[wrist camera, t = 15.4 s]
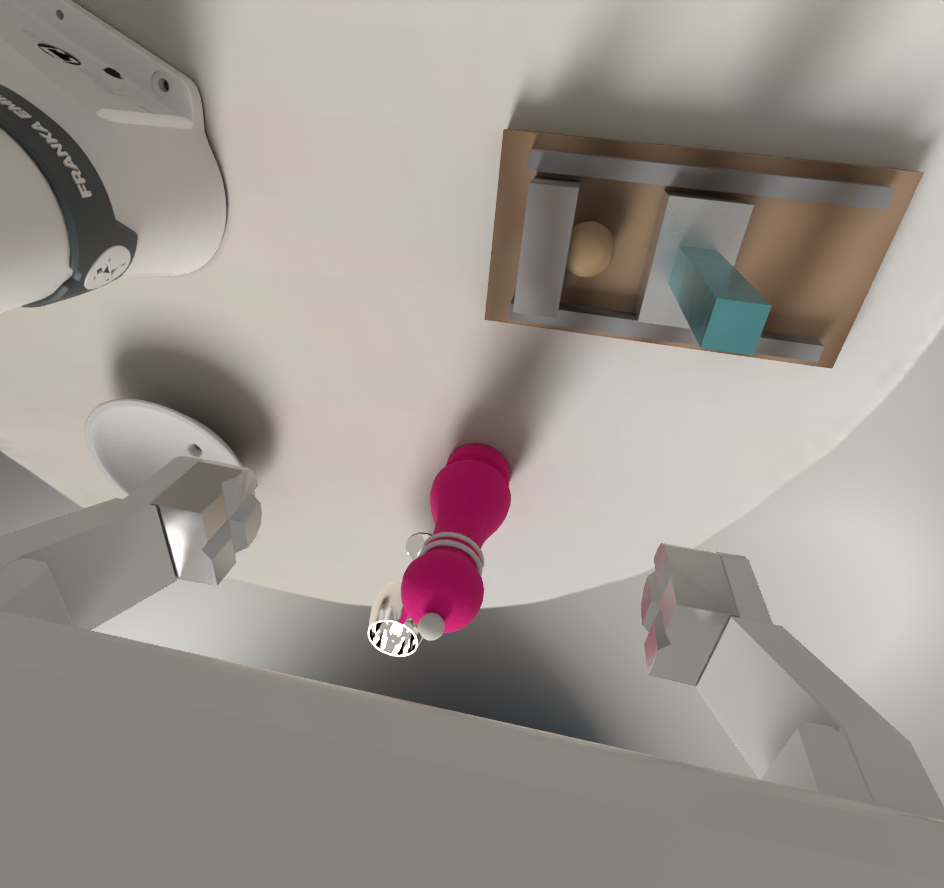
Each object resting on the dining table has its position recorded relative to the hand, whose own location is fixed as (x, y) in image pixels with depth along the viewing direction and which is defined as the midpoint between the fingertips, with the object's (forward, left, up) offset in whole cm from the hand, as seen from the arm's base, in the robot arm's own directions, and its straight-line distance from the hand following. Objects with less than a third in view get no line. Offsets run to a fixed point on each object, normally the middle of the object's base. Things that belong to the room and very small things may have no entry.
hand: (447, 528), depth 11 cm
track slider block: (+8, +6, -33) cm, 34 cm away
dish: (-11, -40, -35) cm, 55 cm away
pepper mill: (+11, -20, -35) cm, 42 cm away
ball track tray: (+8, +5, -35) cm, 36 cm away
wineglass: (+14, -32, -35) cm, 50 cm away
